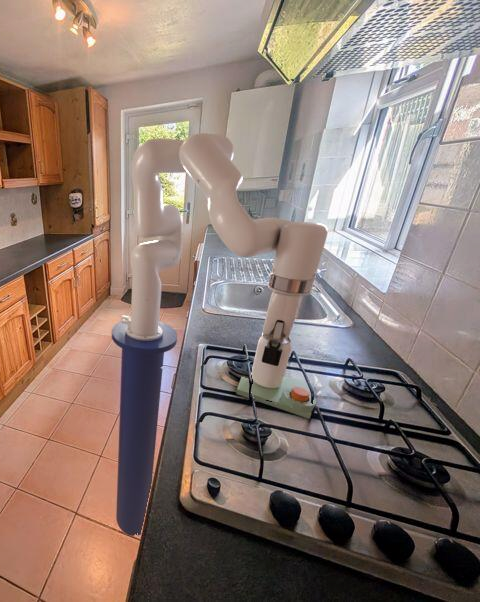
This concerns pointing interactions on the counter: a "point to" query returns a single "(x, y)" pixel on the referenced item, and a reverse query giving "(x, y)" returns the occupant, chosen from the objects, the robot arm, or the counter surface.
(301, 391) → the tare button
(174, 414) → the counter surface
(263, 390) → the scale
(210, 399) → the counter surface
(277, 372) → the can
